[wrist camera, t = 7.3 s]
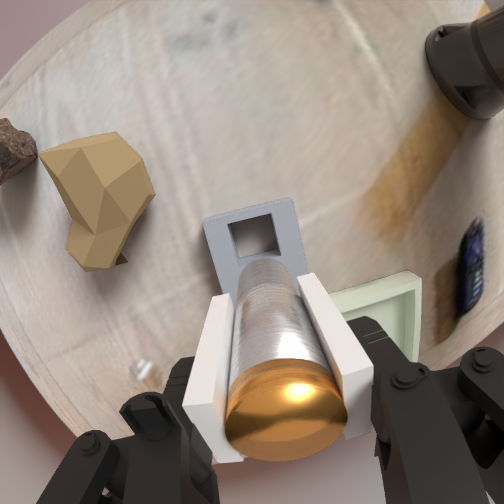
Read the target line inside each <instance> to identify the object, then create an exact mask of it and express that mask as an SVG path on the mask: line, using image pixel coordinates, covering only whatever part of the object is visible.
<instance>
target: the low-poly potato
mask: <svg viewBox="0 0 504 504" xmlns="http://www.w3.org/2000/svg"><path fill="white" fill-rule="evenodd" d="M38 156H39V157H40V159H41V161H42V163H43V164H44V166H45V168H46V170H47V171H48V173H49V175H50V176H51V178H52V179H53V181H54V183H55V185H56V187H57V189H58V191H59V193H60V195H61V197H62V199H63V201H64V203H65V205H66V207H67V209H68V211H69V213H70V215H71V216H72V218H73V220H72V224H71V228H70V232H69V237H68V242H67V247H66V250H67V251H68V252H69V253H70V255H71V256H72V257H73V258H74V259H75V260H76V261H77V262H78V264H79V265H80V266H81V267H82V268H83V269H84V270H85V271H86V272H89V271H95V270H102V269H108V268H111V267H113V266H115V265H119V264H123V263H127V262H128V261H127V260H126V259H125V257H124V256H123V255H122V254H121V250H122V248H123V246H124V244H125V242H126V240H127V237H128V235H129V233H130V231H131V229H132V227H133V225H134V223H135V222H136V221H137V219H138V218H139V216H140V215H141V214H142V212H143V211H144V210H145V208H146V207H147V206H148V204H149V203H150V202H151V200H152V199H153V198H154V196H155V195H156V194H155V191H154V189H153V186H152V183H151V181H150V178H149V175H148V173H147V170H146V167H145V164H144V161H143V159H142V157H141V156H140V155H139V154H138V153H137V152H136V151H135V150H134V149H133V148H132V147H131V146H130V145H129V144H128V143H127V142H126V141H125V140H124V139H123V138H122V137H121V136H120V135H119V134H118V133H117V132H112V133H106V134H100V135H95V136H90V137H85V138H81V139H76V140H73V141H70V142H67V143H65V144H62V145H59V146H56V147H53V148H51V149H48V150H46V151H43V152H40V153H38Z"/></svg>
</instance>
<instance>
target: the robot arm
mask: <svg viewBox="0 0 504 504" xmlns="http://www.w3.org/2000/svg"><path fill="white" fill-rule="evenodd" d="M426 54H427V59H428V62H429V65H430V68H431V71H432V73H433V75H434V77H435V79H436V81H437V83H438V85H439V86H440V88H441V89H442V91H443V92H444V94H445V95H446V96H447V98H448V99H449V100H450V101H451V102H452V104H453V105H454V106H455V107H456V108H457V109H459V110H460V111H461V112H462V113H464V114H465V115H467V116H469V117H471V118H474V119H484V118H490V117H493V116H495V115H496V114H497V113H499V112H500V111H501V110H503V109H504V6H502V7H500V8H498V9H496V10H494V11H492V12H490V13H488V14H486V15H484V16H483V17H481V18H479V19H477V20H475V21H473V22H471V23H457V24H446V25H442V26H439V27H438V28H436V29H435V30H433V31H432V32H431V33H430V34H429V35H428V37H427V40H426ZM297 281H298V286H299V291H300V296H301V300H302V302H303V305H304V307H305V309H306V312H307V314H308V316H309V319H310V321H311V323H312V326H313V328H314V331H315V333H316V336H317V338H318V340H319V343H320V345H321V348H322V350H323V353H324V355H325V357H326V360H327V362H328V365H329V367H330V370H331V372H332V375H333V377H334V380H335V382H336V385H337V387H338V390H339V392H340V395H341V398H342V400H343V403H344V405H345V408H346V410H347V414H348V421H347V425H346V427H345V429H344V431H343V433H344V436H345V439H346V440H348V439H351V438H355V437H358V436H361V435H364V434H367V433H369V432H371V425H372V424H373V426H374V428H375V431H376V433H377V437H376V445H375V455H374V456H379V462H380V467H381V473H382V478H383V485H384V491H385V497H386V504H490V503H489V500H488V497H487V494H486V491H487V493H488V494H489V495H490V497H491V498H492V499H493V501H494V502H495V504H504V355H503V354H502V353H500V352H499V351H497V350H495V349H493V348H490V347H476V348H473V349H471V350H469V351H467V352H466V353H465V354H464V355H463V357H462V360H461V363H460V366H458V367H454V368H449V369H444V370H438V371H430V370H429V369H428V367H427V366H425V365H423V364H421V363H418V362H410V361H409V360H408V359H407V357H406V356H405V355H404V354H403V352H402V351H401V350H400V349H399V347H398V346H397V345H396V344H395V342H394V341H393V340H392V339H391V338H390V337H389V335H388V334H387V333H386V331H385V330H383V328H382V327H381V325H380V324H379V323H378V322H377V321H376V320H374V319H372V318H370V317H368V316H362V317H359V318H355V319H352V320H349V321H345V319H344V318H343V316H342V315H341V313H340V312H339V310H338V309H337V307H336V306H335V304H334V303H333V301H332V299H331V298H330V296H329V295H328V293H327V292H326V290H325V289H324V287H323V286H322V284H321V283H320V281H319V280H318V278H317V277H316V275H315V274H314V273H310V274H306V275H302V276H298V277H297ZM234 322H235V310H234V307H233V304H232V300H231V297H230V294H229V293H227V294H223V295H218V296H214V297H212V300H211V304H210V307H209V310H208V314H207V317H206V321H205V324H204V328H203V331H202V335H201V338H200V342H199V345H198V349H197V352H196V356H194V357H187V358H181V359H180V360H179V361H178V362H177V363H176V364H175V365H174V367H173V368H172V370H171V373H170V376H169V379H168V381H167V384H166V388H165V389H164V392H163V394H160V393H157V392H145V393H141V394H138V395H136V396H134V397H132V398H130V399H129V400H128V401H127V402H126V403H125V404H124V405H123V406H122V408H121V409H120V411H119V413H120V414H121V415H122V417H123V418H124V420H125V421H126V422H127V424H128V425H129V426H130V428H131V429H132V430H133V432H134V433H135V435H133V436H130V437H125V438H121V439H116V440H111V439H110V438H109V437H108V435H107V434H106V433H105V432H102V431H100V430H92V431H88V432H85V433H84V434H82V435H81V436H79V437H78V438H77V439H76V441H75V442H74V443H73V445H72V446H71V448H70V449H69V451H68V452H67V454H66V456H65V457H64V459H63V460H62V462H61V463H60V465H59V467H58V468H57V470H56V471H55V473H54V475H53V477H52V478H51V480H50V481H49V483H48V485H47V486H46V488H45V490H44V491H43V493H42V494H41V496H40V498H39V500H38V501H37V503H36V504H220V500H219V492H218V484H217V475H216V473H215V471H214V469H213V468H212V466H211V464H212V455H213V456H214V457H215V459H216V460H217V462H218V463H227V462H239V461H244V454H242V453H240V452H239V451H237V450H236V449H235V448H233V447H232V446H231V444H230V443H229V442H228V440H227V438H226V434H225V425H226V413H227V401H228V389H229V378H230V366H231V355H232V344H233V333H234ZM104 487H105V488H106V489H108V490H109V492H108V493H107V495H102V491H103V489H104ZM485 490H486V491H485Z"/></svg>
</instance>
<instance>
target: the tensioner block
mask: <svg viewBox="0 0 504 504" xmlns="http://www.w3.org/2000/svg"><path fill="white" fill-rule="evenodd" d="M269 213H270V216H271V220H272V224H273V228H274V233H275V237H276V241H277V246H278V249H276V250H272V251H267V252H263V253H259V254H255V255H251V256H247V257H243V258H239V256H238V252H237V249H236V245H235V241H234V237H233V234H232V230H231V226H230V223H233V222H237V221H241V220H245V219H249V218H253V217H257V216H261V215H265V214H269ZM202 224H203V228H204V231H205V235H206V238H207V242H208V245H209V249H210V252H211V256H212V259H213V262H214V266H215V269H216V273H217V276H218V279H219V282H220V286H221V289H222V292H223V294H227V293H229V294H230V297H231V300H232V304H233V307H234V310H235V311H236V301H237V290H238V280H239V276H240V274H241V272H242V270H243V269H244V268H245V267H246V265H248V264H249V263H251V262H252V261H254V260H257V259H261V258H271V259H275V260H277V261H279V262H281V263H282V264H284V265H285V266H286V267H287V269H288V270H289V272H290V274H291V276H292V279H293V281H294V283H295V286H296V288H297V290H298V293H299V295H300V291H299V286H298V281H297V277H298V276H302V275H306V274H308V269H307V263H306V258H305V253H304V248H303V244H302V239H301V234H300V229H299V225H298V220H297V216H296V211H295V207H294V202H293V199H291V198H284V199H280V200H276V201H271V202H267V203H263V204H259V205H255V206H251V207H247V208H243V209H239V210H235V211H231V212H227V213H223V214H220V215H216V216H212V217H208V218H206V219H205V220H204V221H203V222H202ZM300 297H301V296H300Z"/></svg>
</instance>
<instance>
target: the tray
mask: <svg viewBox="0 0 504 504" xmlns="http://www.w3.org/2000/svg"><path fill="white" fill-rule="evenodd" d="M328 295H329V296H330V298H331V299H332V301H333V303H334V304H335V306H336V307H337V309H338V310H339V312H340V313H341V315H342V316H343V318H344V319H345V321H349V320H352V319H355V318H359V317H362V316H368V317H370V318H372V319H374V320H376V321H377V322H378V323H379V324H380V325H381V327H382V328H383V330H385V331H386V333H387V334H388V335H389V337H390V338H391V339H392V340H393V341H394V342H395V344H396V345H397V346H398V347H399V349H400V350H401V351H402V352H403V354H404V355H405V356H406V357H407V359H408V360H409V361H410V362H418V355H419V344H420V330H421V308H422V279H421V278H420V277H418V276H417V275H415V274H413V273H412V272H410V271H409V270H405V271H402V272H399V273H396V274H393V275H390V276H387V277H384V278H380V279H377V280H374V281H371V282H367V283H364V284H361V285H357V286H354V287H350V288H347V289H343V290H340V291H336V292H333V293H329V294H328Z"/></svg>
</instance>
